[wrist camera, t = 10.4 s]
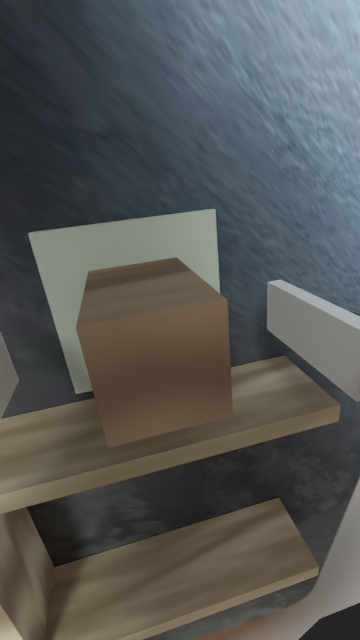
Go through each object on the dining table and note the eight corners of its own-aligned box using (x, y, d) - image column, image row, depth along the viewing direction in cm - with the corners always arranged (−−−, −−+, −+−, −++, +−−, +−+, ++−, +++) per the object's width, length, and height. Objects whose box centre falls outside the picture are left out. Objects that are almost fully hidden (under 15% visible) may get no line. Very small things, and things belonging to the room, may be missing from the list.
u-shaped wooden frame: (-34, 426, 19) (-89, 518, 14) (284, 355, 23) (340, 404, 17) (43, 579, 26) (27, 682, 20) (278, 505, 29) (317, 575, 24)
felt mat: (30, 232, 16) (27, 233, 15) (211, 208, 17) (215, 208, 17) (76, 388, 20) (75, 394, 19) (220, 357, 21) (223, 361, 21)
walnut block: (88, 271, 17) (75, 328, 9) (176, 257, 17) (227, 299, 10) (106, 350, 19) (108, 447, 11) (185, 334, 19) (232, 415, 12)
